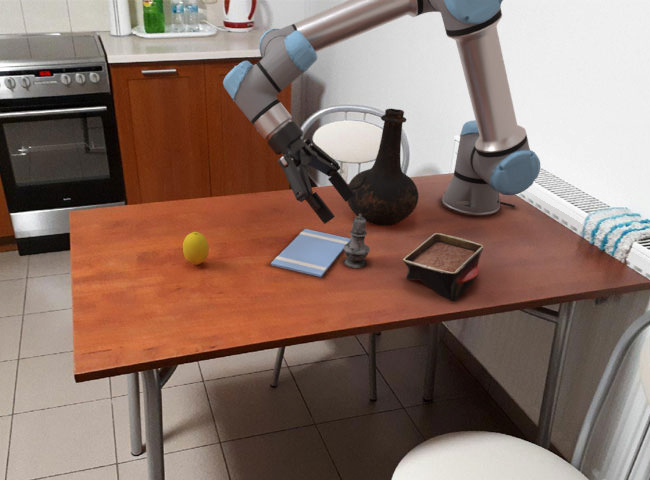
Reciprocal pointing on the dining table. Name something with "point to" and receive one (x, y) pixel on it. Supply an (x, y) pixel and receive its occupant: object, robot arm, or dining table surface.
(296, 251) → the cloth
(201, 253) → the lemon
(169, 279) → the dining table surface
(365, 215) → the glass bottle
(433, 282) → the baking dish
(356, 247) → the salt shaker
